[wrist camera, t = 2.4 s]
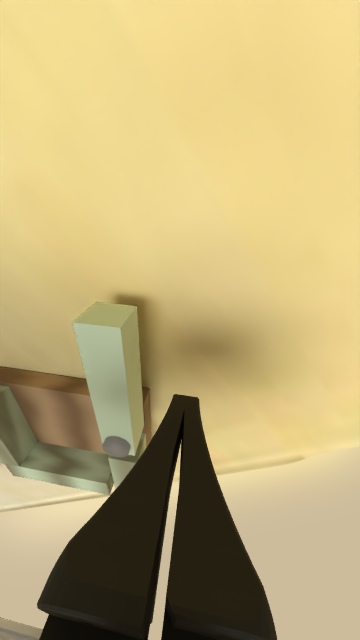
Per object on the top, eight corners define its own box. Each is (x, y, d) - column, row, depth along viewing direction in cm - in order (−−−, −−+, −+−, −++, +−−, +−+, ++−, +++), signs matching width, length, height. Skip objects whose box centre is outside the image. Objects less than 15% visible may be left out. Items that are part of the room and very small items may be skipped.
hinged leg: (144, 425, 21) (132, 461, 18) (116, 420, 22) (101, 455, 18) (136, 306, 14) (116, 332, 11) (96, 301, 15) (66, 326, 12)
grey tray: (35, 436, 30) (6, 474, 26) (-2, 366, 23) (-50, 402, 19) (151, 456, 29) (141, 501, 24) (149, 388, 22) (133, 433, 17)
